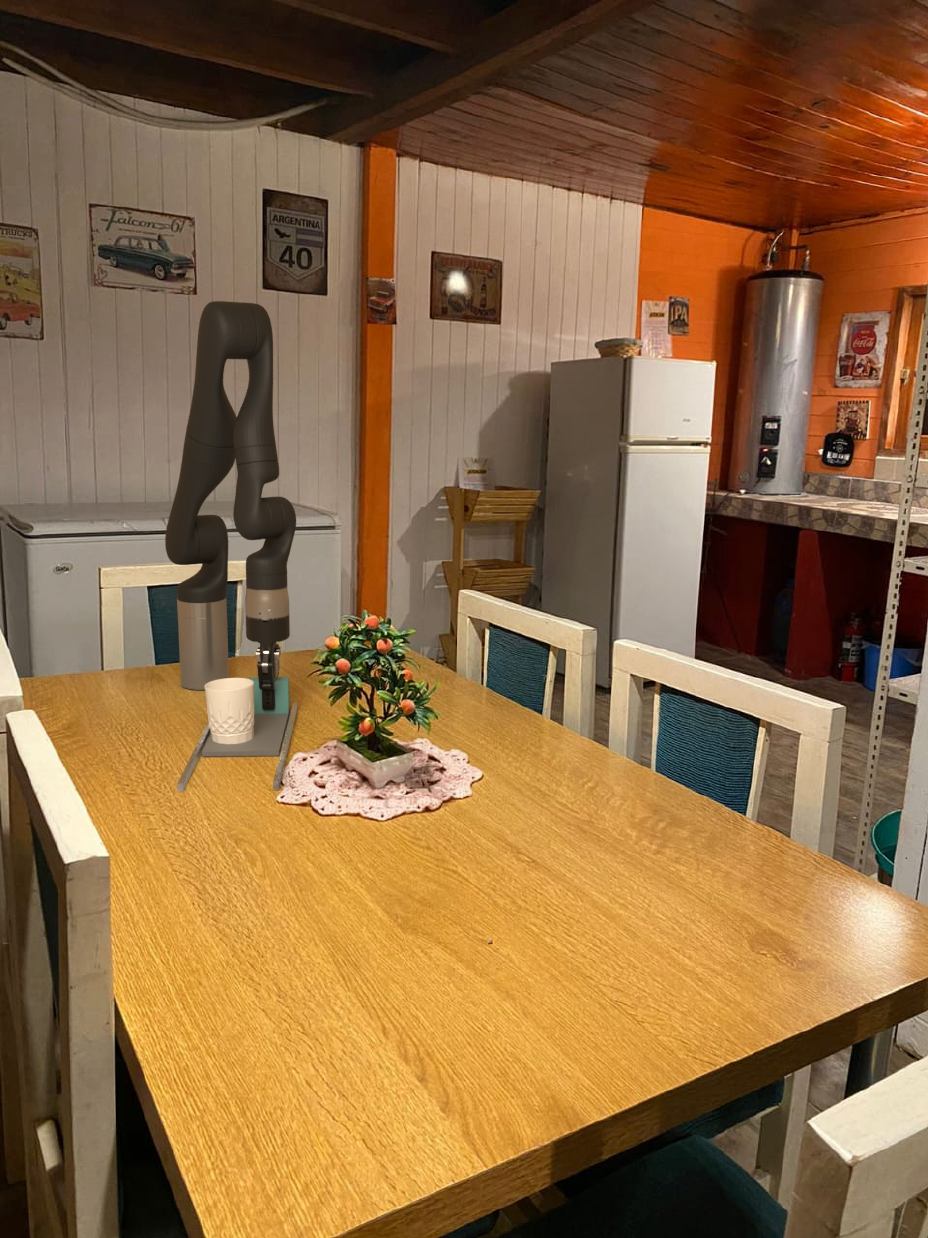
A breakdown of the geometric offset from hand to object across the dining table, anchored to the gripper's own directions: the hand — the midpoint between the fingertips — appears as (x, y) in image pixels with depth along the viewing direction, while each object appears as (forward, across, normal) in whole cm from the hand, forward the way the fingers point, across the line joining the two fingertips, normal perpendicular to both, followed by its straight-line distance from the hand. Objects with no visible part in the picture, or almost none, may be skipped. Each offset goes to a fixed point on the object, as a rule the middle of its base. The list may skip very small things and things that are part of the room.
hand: (269, 706), depth 174 cm
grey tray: (+2, +9, -3) cm, 10 cm away
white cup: (+2, +14, -5) cm, 14 cm away
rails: (+2, +15, -3) cm, 15 cm away
